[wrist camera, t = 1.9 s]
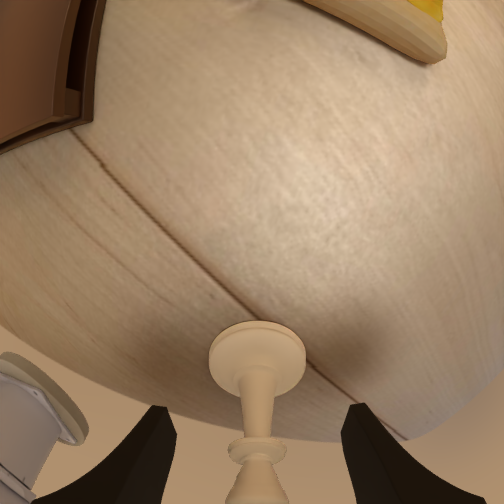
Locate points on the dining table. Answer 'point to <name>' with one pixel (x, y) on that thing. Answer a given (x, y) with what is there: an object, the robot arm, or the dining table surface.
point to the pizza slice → (396, 23)
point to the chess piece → (257, 400)
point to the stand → (46, 67)
